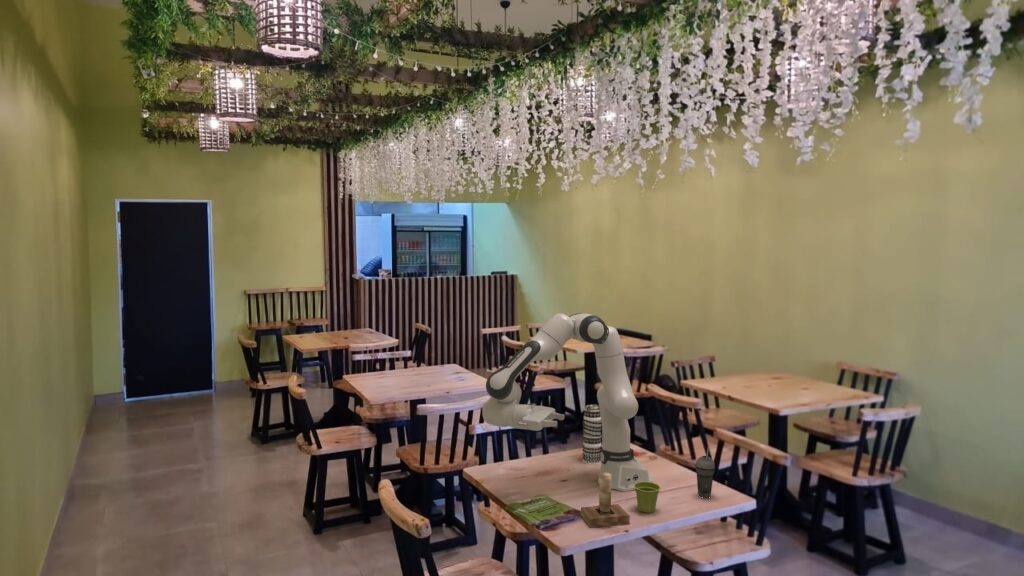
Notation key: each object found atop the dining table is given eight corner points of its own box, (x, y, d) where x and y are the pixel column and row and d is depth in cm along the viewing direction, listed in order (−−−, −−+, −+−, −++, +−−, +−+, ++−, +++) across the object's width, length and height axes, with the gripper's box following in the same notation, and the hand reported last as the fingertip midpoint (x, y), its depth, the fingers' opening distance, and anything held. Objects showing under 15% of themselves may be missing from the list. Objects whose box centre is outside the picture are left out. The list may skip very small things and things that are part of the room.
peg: (608, 516, 223) (608, 472, 222) (612, 521, 219) (613, 476, 218) (597, 517, 222) (597, 472, 221) (601, 522, 218) (602, 476, 218)
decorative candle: (605, 464, 278) (606, 407, 277) (585, 465, 277) (585, 408, 275) (598, 457, 287) (599, 402, 286) (579, 458, 286) (579, 403, 284)
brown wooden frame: (618, 512, 227) (618, 504, 227) (629, 524, 218) (629, 515, 217) (580, 515, 224) (580, 507, 224) (590, 527, 214) (590, 519, 214)
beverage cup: (700, 491, 248) (701, 440, 247) (717, 496, 243) (719, 445, 241) (690, 496, 243) (692, 444, 241) (708, 501, 237) (709, 449, 236)
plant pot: (664, 513, 227) (665, 489, 226) (641, 516, 224) (641, 492, 223) (651, 503, 236) (652, 480, 235) (628, 506, 233) (629, 482, 232)
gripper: (514, 415, 224) (552, 419, 219) (532, 402, 243) (567, 405, 239) (514, 432, 224) (552, 437, 220) (532, 418, 244) (567, 422, 239)
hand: (560, 420), depth 229 cm, fingers open, 8 cm apart
